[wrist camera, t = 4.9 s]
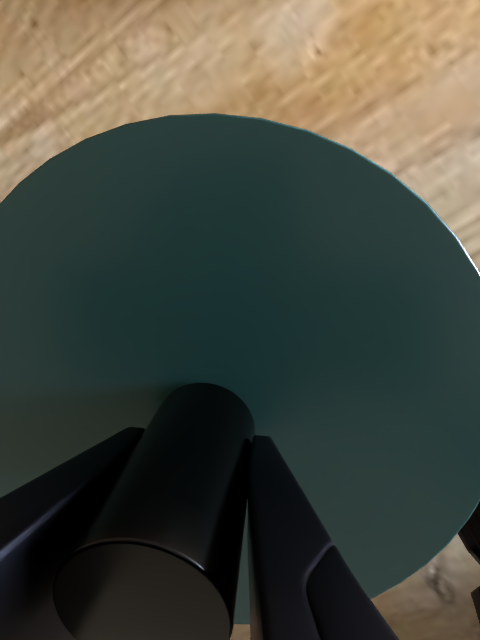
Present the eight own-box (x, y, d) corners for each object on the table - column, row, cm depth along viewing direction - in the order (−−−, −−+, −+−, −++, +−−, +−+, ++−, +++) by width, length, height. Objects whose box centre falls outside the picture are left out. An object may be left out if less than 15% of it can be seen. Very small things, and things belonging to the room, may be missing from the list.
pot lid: (228, -39, 7) (75, -798, 2) (595, 445, 9) (1030, 759, 4) (-106, 371, 11) (-466, 515, 6) (205, 645, 13) (154, 938, 8)
